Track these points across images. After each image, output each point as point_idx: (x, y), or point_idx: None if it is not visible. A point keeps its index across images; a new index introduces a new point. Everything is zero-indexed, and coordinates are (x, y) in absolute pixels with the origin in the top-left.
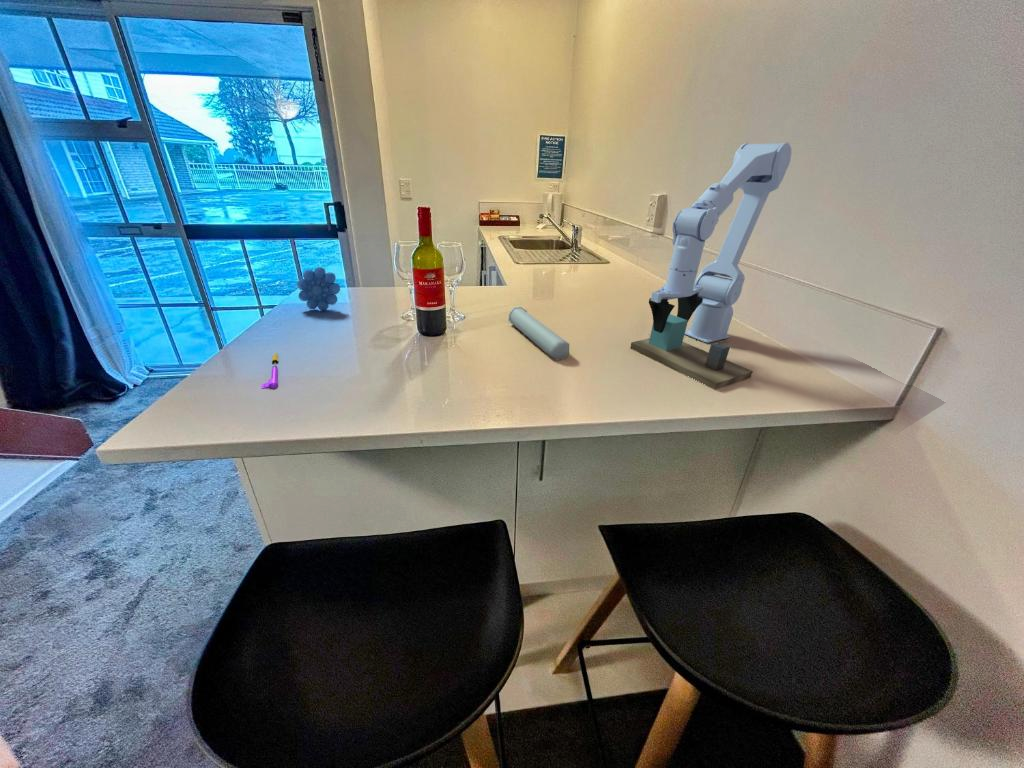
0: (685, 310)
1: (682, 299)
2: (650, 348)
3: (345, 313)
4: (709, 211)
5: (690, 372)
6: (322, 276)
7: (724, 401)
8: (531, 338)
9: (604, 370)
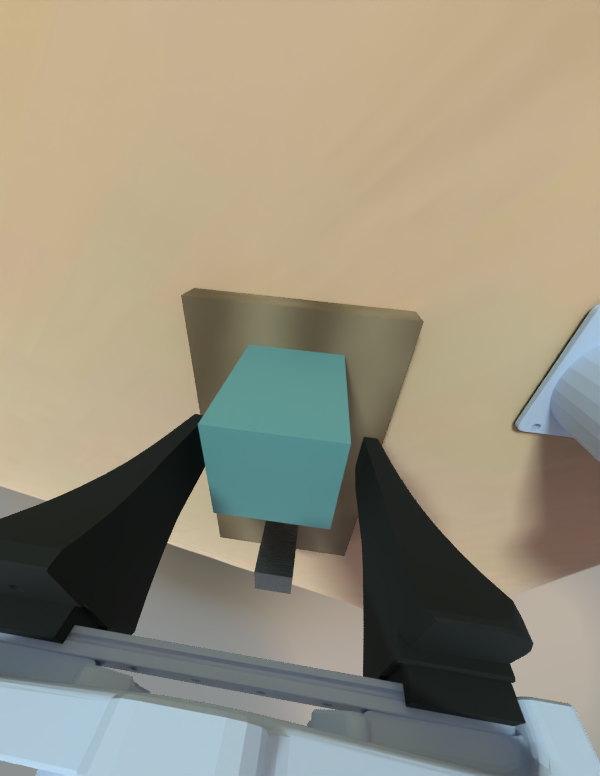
0: (371, 546)
1: (391, 608)
2: (215, 379)
3: None
4: None
5: None
6: None
7: (207, 537)
8: None
9: (13, 362)
